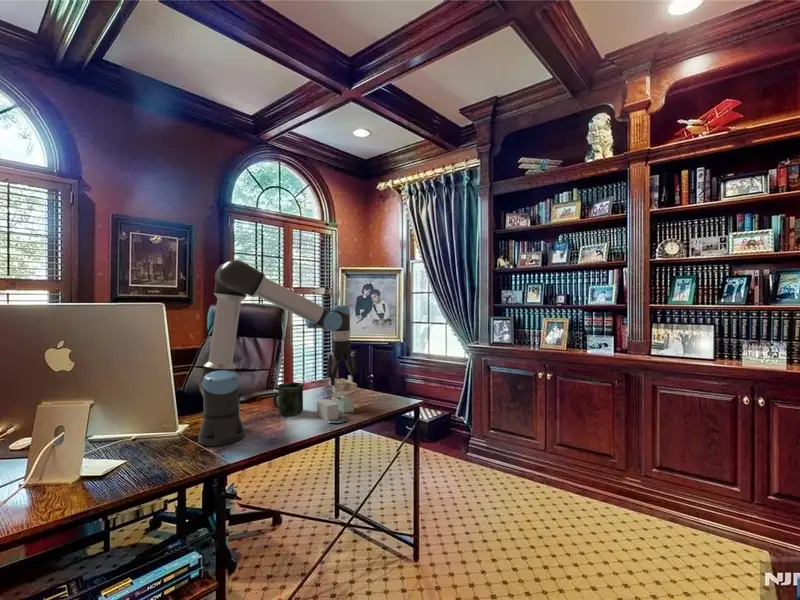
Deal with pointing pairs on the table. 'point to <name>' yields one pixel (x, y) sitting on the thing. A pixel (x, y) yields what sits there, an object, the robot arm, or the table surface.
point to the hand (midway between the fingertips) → (342, 391)
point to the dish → (343, 404)
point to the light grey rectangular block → (327, 409)
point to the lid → (344, 384)
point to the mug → (289, 398)
